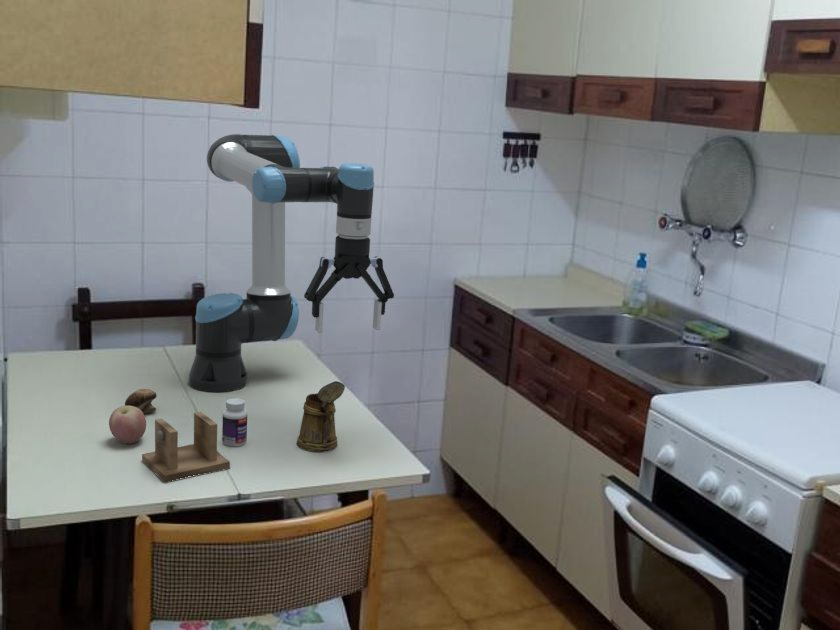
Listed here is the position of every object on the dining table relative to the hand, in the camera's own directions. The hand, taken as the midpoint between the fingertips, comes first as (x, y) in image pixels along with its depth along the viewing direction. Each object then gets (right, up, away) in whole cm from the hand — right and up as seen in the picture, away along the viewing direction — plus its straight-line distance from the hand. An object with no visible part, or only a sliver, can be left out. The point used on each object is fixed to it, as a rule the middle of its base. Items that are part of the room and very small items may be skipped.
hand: (347, 330), depth 198 cm
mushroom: (-50, -20, +13) cm, 56 cm away
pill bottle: (-25, -25, 0) cm, 36 cm away
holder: (-33, -28, -14) cm, 45 cm away
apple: (-48, -25, -4) cm, 54 cm away
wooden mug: (-6, -27, 0) cm, 27 cm away
